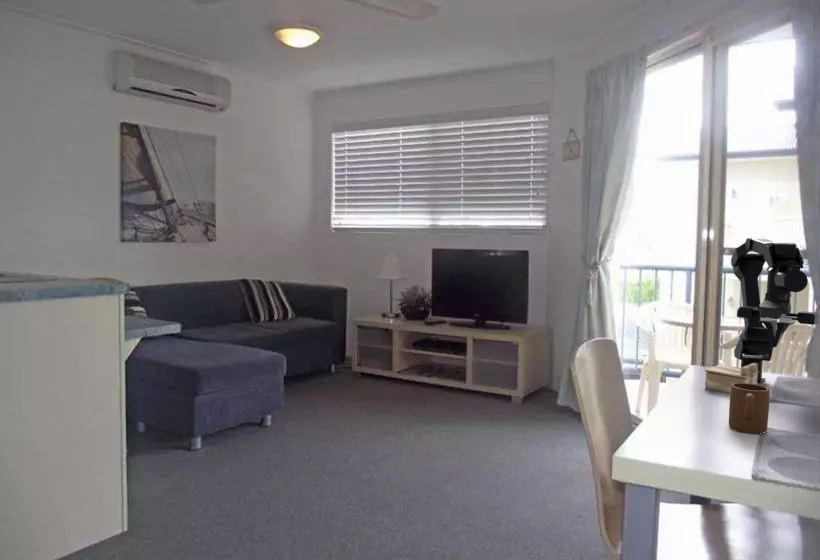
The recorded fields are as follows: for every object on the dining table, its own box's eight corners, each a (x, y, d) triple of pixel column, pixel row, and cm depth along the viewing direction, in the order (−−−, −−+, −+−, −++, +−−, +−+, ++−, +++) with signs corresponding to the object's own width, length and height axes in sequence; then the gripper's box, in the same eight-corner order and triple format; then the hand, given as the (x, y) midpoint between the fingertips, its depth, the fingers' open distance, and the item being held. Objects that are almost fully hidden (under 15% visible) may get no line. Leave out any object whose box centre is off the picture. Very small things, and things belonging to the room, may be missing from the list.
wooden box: (718, 383, 192) (719, 367, 192) (756, 389, 185) (757, 373, 185) (704, 389, 184) (705, 372, 184) (744, 396, 177) (745, 379, 177)
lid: (719, 366, 192) (719, 357, 192) (758, 372, 185) (759, 363, 185) (705, 371, 184) (705, 362, 184) (745, 378, 177) (746, 368, 177)
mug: (768, 442, 137) (771, 397, 137) (727, 436, 141) (729, 392, 140) (766, 428, 148) (769, 385, 147) (728, 422, 151) (731, 381, 151)
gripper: (731, 287, 180) (728, 345, 181) (811, 293, 168) (806, 355, 169) (745, 285, 189) (741, 341, 190) (821, 291, 176) (817, 350, 177)
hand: (774, 347), depth 181 cm, fingers closed
